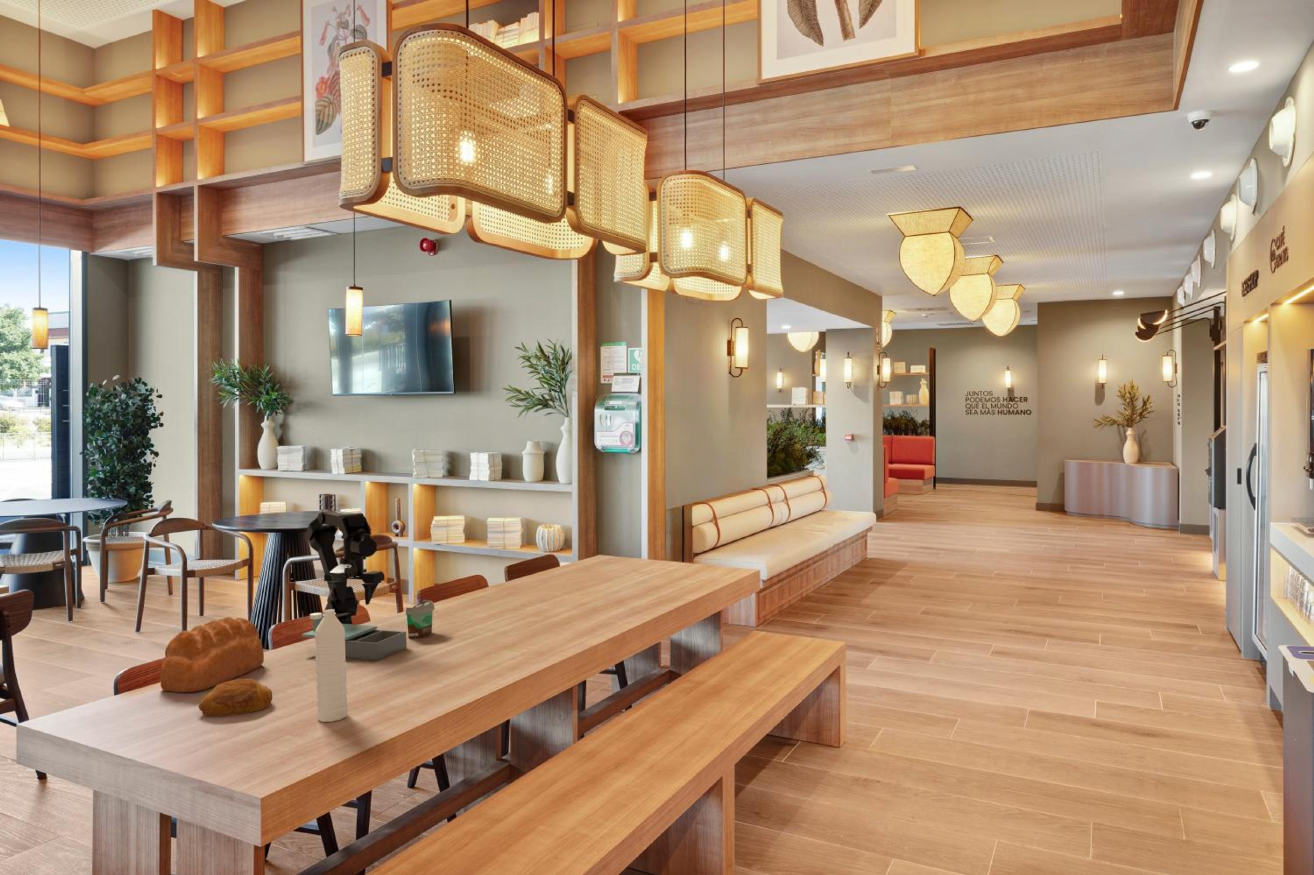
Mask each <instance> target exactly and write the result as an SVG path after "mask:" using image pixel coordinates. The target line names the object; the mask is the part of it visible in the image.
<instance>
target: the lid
mask: <svg viewBox="0 0 1314 875" xmlns="http://www.w3.org/2000/svg"><path fill="white" fill-rule="evenodd" d="M323 617H324V615H323V614H322V618H320V619H312V627H313V628H312V629H313V630H310V631H306V632H304V633H301V638H310V639H311V638H312V639H315V631H316V628H317V627H318V625H319V624H320V622H321V620H322V619H323ZM318 618H319V617H318ZM342 625H343V627H344V629H345V640H348V639H351V638H354V637H356V636H359V635H362V634H364V633H367V632H370V631H372V630H378V626H377V625H367V624H354V623H353V624H342Z"/></svg>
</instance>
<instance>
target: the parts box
mask: <svg viewBox="0 0 1314 875" xmlns="http://www.w3.org/2000/svg"><path fill="white" fill-rule="evenodd" d="M407 644H408V642H407V631H400V630H387V629H375V630H372V631H370V632H367V633H364V634H362V635H359V636H356V637H354V638H351V639H348V640H345V655H346V656H345V658H346V659H348V660H349V659H350V660H359V661H371V662H374V661H375V662H378V661H381V660H382V659H384V658H387V657H390V656H391V655H394V654H396V653H399V652H401V651H403V650H406V649H407V647H408V645H407Z"/></svg>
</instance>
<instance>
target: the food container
mask: <svg viewBox="0 0 1314 875" xmlns="http://www.w3.org/2000/svg"><path fill="white" fill-rule="evenodd" d="M435 609H436V607H435V604H434V602H433V601H432V600H428V599H423V600H422V603H420V604H415V605H413V607H405V615H406V621H407V622H406V623H407V624H406V625H407V633H408V634H407V635H408V639H414V640H415V639H422V638H423V639H424V638H427V637H429V636H431V635H432V633H433V613H434V612H433V611H435Z"/></svg>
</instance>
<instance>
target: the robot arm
mask: <svg viewBox="0 0 1314 875" xmlns="http://www.w3.org/2000/svg"><path fill="white" fill-rule="evenodd" d="M371 530H372V529H371V527H370V524H369V522H368V520H367V518H366V516H365V515H364V513H362V512H356V513H347V514H346V513H342V512H337V511H335V510H327V511H326V510H325V511H321V512H319V513H318V514H317V517H316V518H315V519H313V520H311V522H310V523H309V524H308V527H307V528H306V531H305V538H306V540H307V541H308V543H309V546H310V547H311V549H313V550H314V551H316V553H317V554H318V557H319V561H320V563H321V566H322V570H323V573H324V575H323V581H324V582H327V586H328V590H329V592H328V596H327V598H326V601H327V602H326V604H325V608H324V610H323V612H324V611H325V610H329V609H333V610H335V611H334V612H335V613H336V614H335V616H336V617H337V619H338V620H339V621H340V622H341V624H354V622H353V621H352V617H355V616H357V610H358V603H359V602H358V599H357V597H356V594H355V591H354V588H353V587H352V586H351V585H349V586H348V585H347V584H348V580H361V581H362V582H363V583H362V584H361V585H362V587H363V589H364V602H365V605H366V606H368V605H370V603H371V600H372V598H373V595H374V593H375V592H376V590H377V587H378V586H379V584H381V583H382V581H385V580H386V579H385V578H386V577H385V573H384V572H383V571H380V570H373V571H368V572H367V568H364V566H365V564H364V560H367V558H370V557H372V556H373V555H375V553H376V552H377V548H378V545H377V542H376V541H375V540H374V539H373V538H372V537H371V535H372V532H371ZM337 531H340V532H341V534H342V535H341V539H342V541H343V543H342V545H343V557H342V558H341V559H340V560H339V562H340V564H339V562H338V558H337V556H336V555H337V554H336V553H335V549H334V544H335V540H336V534H337Z"/></svg>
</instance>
